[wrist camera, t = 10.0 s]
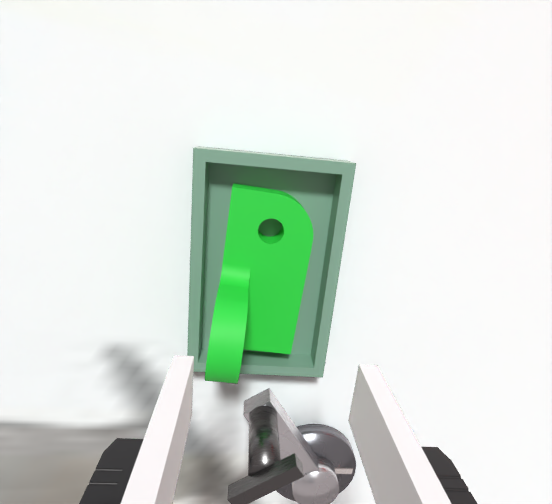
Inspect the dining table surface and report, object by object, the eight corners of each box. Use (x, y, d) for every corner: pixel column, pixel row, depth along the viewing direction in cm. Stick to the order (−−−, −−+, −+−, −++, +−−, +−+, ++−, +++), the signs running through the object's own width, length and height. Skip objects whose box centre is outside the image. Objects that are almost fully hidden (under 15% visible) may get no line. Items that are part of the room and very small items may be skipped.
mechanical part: (288, 340, 31) (299, 409, 23) (214, 332, 30) (201, 400, 22) (316, 195, 27) (340, 220, 20) (233, 183, 27) (225, 203, 19)
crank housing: (264, 490, 36) (264, 502, 35) (271, 422, 34) (272, 433, 32) (345, 491, 37) (348, 504, 35) (358, 425, 34) (362, 436, 33)
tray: (191, 353, 31) (187, 371, 29) (198, 146, 26) (193, 147, 24) (317, 359, 32) (322, 377, 30) (347, 160, 27) (356, 163, 25)
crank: (347, 475, 34) (373, 572, 27) (299, 499, 34) (311, 599, 27) (282, 379, 30) (291, 459, 23) (229, 407, 31) (222, 493, 24)
